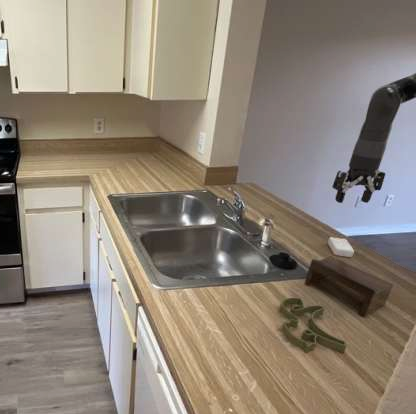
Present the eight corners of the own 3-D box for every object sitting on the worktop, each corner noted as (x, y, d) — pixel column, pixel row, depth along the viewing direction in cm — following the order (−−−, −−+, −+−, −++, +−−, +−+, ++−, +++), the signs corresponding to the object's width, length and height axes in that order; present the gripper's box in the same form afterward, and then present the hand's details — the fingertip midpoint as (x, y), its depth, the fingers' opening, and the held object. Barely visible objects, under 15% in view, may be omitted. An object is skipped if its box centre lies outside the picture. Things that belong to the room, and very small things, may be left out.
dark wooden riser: (324, 275, 103) (332, 251, 100) (384, 305, 90) (395, 279, 87) (304, 284, 99) (311, 259, 96) (364, 317, 86) (375, 290, 82)
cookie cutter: (349, 359, 74) (352, 352, 73) (291, 350, 76) (293, 344, 75) (318, 306, 90) (320, 300, 89) (270, 300, 92) (271, 294, 91)
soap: (352, 258, 112) (355, 250, 111) (333, 255, 114) (336, 248, 112) (344, 245, 120) (346, 238, 118) (326, 243, 121) (329, 236, 120)
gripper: (354, 157, 99) (338, 206, 105) (400, 156, 99) (382, 206, 106) (336, 150, 106) (322, 198, 112) (380, 150, 106) (364, 197, 112)
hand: (351, 201), depth 109 cm, fingers open, 8 cm apart
